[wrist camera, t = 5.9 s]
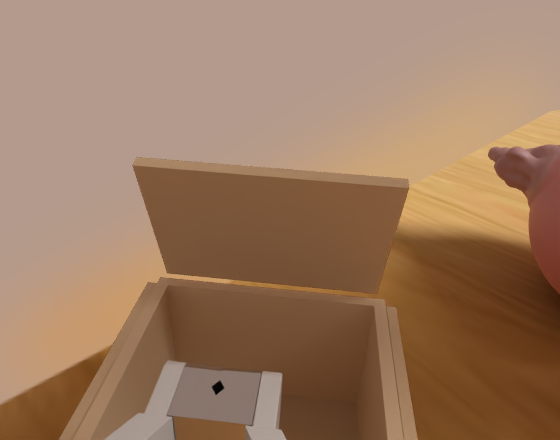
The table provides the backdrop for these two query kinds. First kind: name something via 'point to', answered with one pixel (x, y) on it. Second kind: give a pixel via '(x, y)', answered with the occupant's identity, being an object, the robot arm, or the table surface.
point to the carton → (261, 358)
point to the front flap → (272, 223)
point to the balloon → (537, 199)
